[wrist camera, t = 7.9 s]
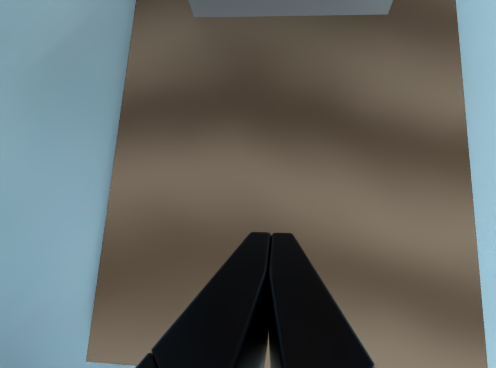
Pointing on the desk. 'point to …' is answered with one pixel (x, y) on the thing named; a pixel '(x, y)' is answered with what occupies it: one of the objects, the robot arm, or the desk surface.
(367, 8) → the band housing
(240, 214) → the walnut board
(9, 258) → the desk surface
